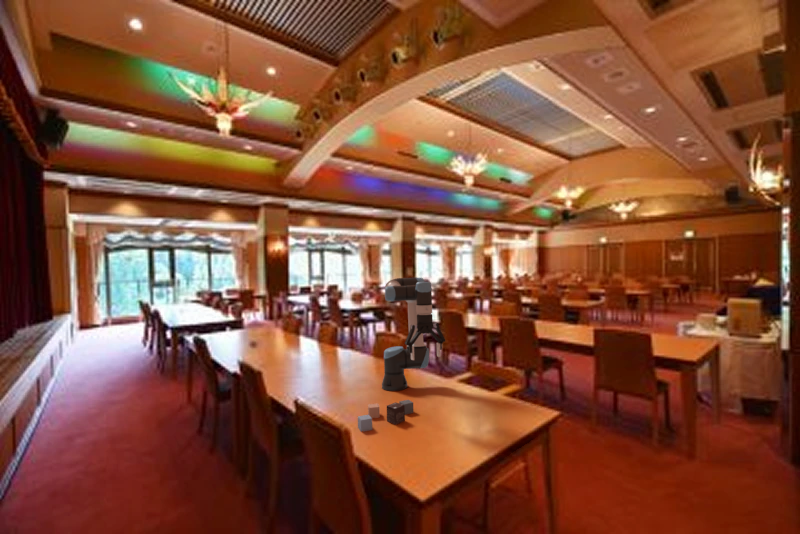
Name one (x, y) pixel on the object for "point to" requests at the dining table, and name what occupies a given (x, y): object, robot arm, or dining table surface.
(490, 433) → the dining table surface
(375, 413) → the cube terracotta
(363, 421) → the cube slate
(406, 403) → the cube charcoal
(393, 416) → the box
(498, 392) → the dining table surface
